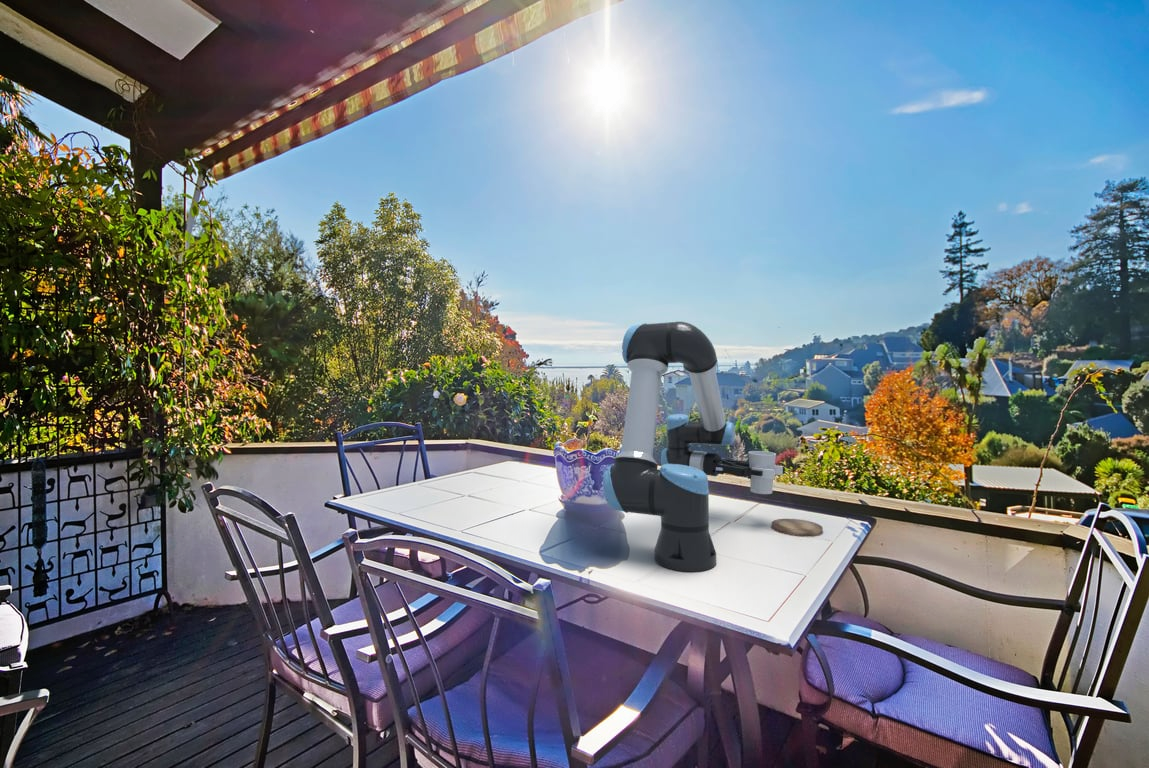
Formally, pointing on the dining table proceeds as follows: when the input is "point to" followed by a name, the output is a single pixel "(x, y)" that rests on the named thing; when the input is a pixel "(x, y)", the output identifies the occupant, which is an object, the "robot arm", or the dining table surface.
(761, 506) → the dining table surface
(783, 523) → the disc
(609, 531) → the dining table surface
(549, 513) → the dining table surface
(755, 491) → the cup
